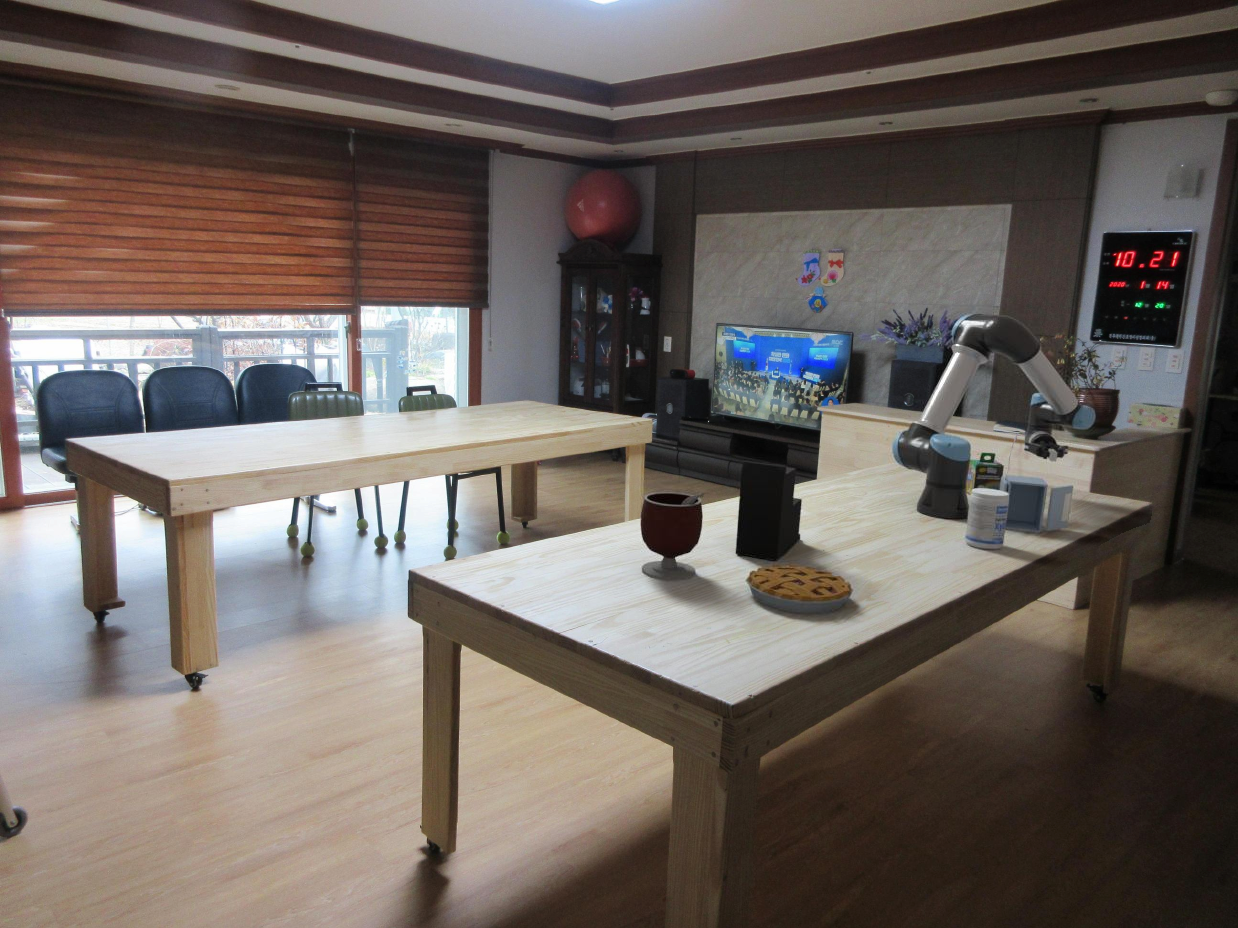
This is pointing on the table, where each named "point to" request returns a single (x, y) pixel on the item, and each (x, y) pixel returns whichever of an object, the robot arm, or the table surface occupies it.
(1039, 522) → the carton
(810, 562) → the table surface
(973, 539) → the supplement tub
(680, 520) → the mate gourd
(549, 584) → the table surface
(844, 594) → the pie
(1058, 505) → the right flap
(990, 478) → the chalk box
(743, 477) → the black stepped block
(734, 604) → the table surface
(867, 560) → the table surface
